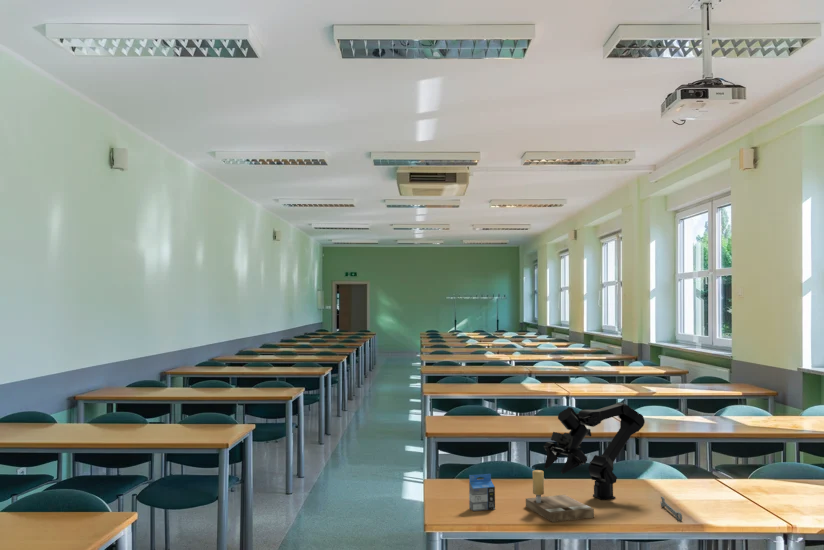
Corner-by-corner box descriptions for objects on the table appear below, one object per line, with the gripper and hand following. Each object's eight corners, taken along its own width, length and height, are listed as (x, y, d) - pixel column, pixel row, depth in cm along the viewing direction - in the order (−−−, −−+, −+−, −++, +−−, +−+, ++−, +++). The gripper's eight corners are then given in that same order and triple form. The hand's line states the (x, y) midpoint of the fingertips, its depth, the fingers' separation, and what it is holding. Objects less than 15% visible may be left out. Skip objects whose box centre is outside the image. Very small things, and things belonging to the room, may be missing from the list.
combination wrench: (682, 512, 234) (663, 495, 254) (678, 512, 234) (659, 495, 254) (682, 523, 234) (663, 505, 254) (678, 523, 234) (659, 505, 254)
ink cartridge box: (472, 511, 247) (472, 477, 248) (469, 508, 251) (468, 475, 252) (495, 509, 250) (494, 475, 250) (491, 506, 253) (490, 473, 254)
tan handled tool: (541, 508, 251) (540, 469, 251) (546, 511, 247) (545, 472, 248) (531, 509, 250) (530, 470, 250) (536, 512, 246) (535, 473, 246)
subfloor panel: (565, 502, 258) (564, 494, 258) (594, 517, 238) (593, 508, 239) (525, 506, 253) (525, 498, 253) (552, 522, 234) (551, 513, 234)
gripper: (546, 420, 264) (525, 452, 258) (580, 427, 248) (558, 461, 242) (562, 439, 268) (541, 470, 262) (597, 447, 251) (575, 481, 245)
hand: (553, 470), depth 252 cm, fingers open, 9 cm apart
